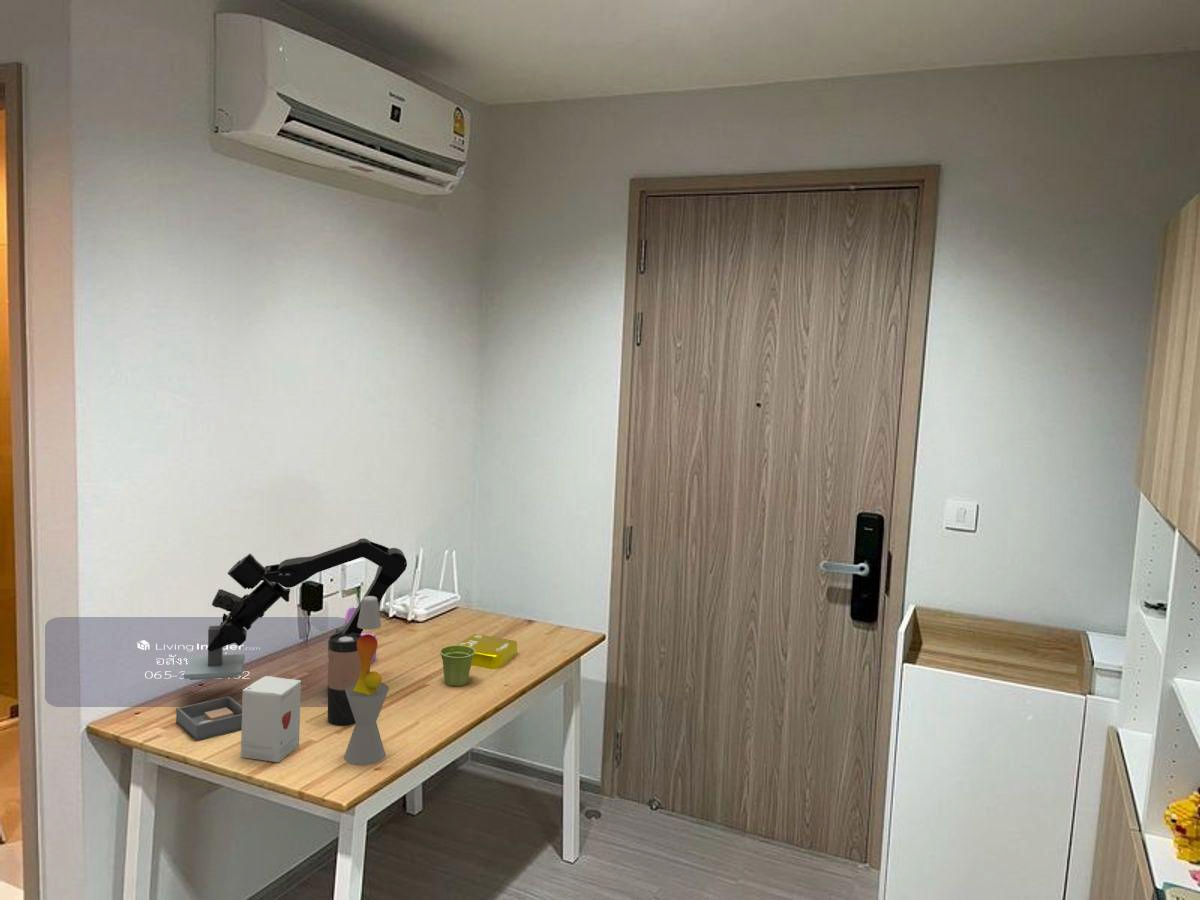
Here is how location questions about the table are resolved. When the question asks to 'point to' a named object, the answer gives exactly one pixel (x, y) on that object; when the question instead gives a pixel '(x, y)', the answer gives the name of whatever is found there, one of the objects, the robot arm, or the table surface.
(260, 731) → the supplement box
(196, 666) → the slate lid
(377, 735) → the lava lamp
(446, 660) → the plant pot
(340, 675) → the travel mug
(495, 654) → the element tile
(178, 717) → the storage box
